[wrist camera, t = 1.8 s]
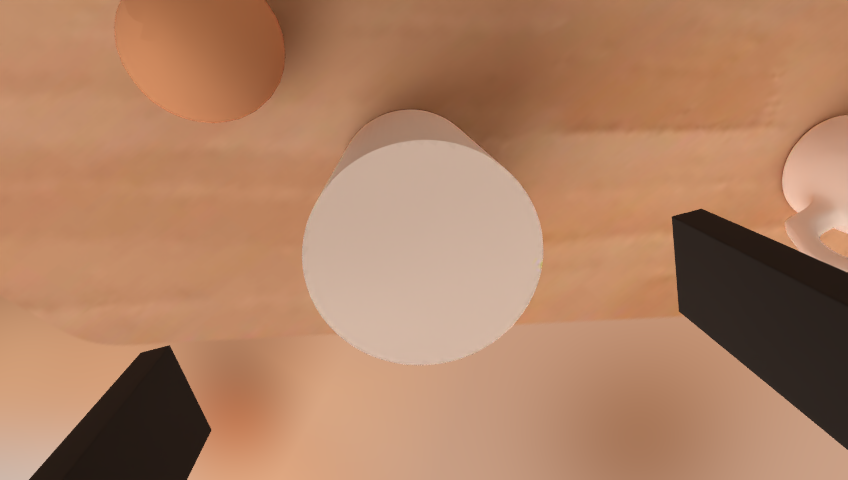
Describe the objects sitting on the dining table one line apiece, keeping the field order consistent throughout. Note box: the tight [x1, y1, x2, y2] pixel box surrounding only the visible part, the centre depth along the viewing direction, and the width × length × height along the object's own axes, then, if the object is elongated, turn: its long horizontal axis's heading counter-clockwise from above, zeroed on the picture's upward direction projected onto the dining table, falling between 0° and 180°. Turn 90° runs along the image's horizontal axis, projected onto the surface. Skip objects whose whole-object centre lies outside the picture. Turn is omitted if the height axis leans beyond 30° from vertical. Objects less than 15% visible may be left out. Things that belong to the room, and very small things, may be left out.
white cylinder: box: [302, 109, 543, 365], centre depth 22 cm, size 8×8×12 cm
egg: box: [114, 0, 285, 123], centre depth 21 cm, size 6×6×8 cm
